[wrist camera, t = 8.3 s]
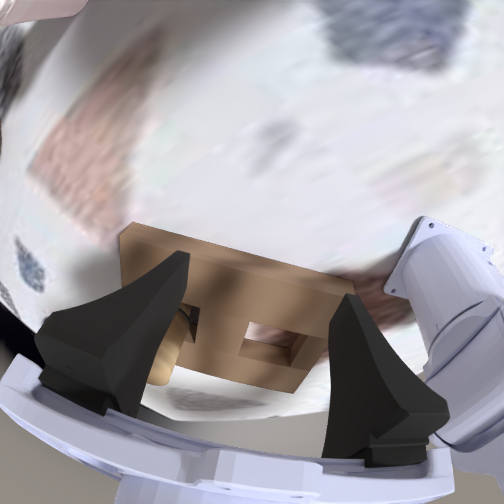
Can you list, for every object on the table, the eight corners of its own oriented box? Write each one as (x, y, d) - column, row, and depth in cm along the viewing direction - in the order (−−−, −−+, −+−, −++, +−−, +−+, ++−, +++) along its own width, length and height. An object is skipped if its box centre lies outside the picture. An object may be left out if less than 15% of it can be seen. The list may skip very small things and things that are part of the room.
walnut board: (352, 281, 25) (356, 300, 23) (294, 376, 34) (293, 393, 32) (132, 221, 24) (119, 235, 22) (137, 334, 33) (129, 349, 31)
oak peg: (199, 292, 28) (169, 368, 20) (194, 319, 30) (168, 390, 23) (160, 280, 28) (122, 350, 20) (159, 307, 30) (126, 374, 22)
